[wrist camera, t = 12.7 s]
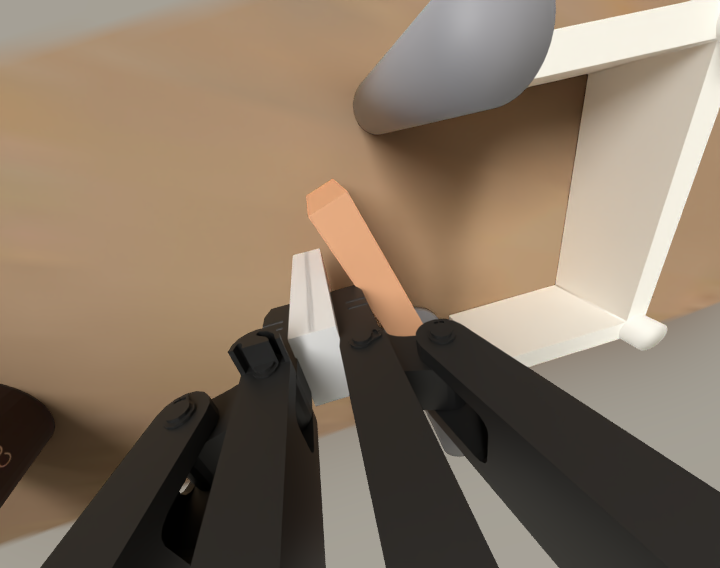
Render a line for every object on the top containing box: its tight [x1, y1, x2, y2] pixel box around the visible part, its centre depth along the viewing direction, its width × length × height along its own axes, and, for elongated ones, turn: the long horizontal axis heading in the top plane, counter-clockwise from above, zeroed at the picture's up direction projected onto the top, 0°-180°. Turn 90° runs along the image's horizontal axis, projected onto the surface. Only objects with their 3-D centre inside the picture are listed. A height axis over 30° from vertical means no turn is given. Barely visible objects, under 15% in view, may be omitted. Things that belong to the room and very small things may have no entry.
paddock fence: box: [353, 0, 720, 367], centre depth 13 cm, size 15×17×9 cm
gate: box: [306, 179, 464, 456], centre depth 13 cm, size 13×3×7 cm, turn 29°
